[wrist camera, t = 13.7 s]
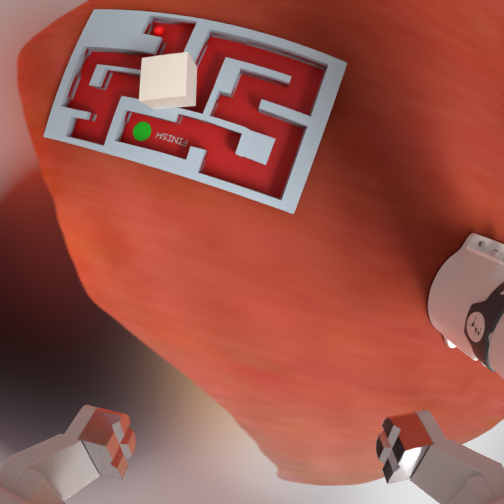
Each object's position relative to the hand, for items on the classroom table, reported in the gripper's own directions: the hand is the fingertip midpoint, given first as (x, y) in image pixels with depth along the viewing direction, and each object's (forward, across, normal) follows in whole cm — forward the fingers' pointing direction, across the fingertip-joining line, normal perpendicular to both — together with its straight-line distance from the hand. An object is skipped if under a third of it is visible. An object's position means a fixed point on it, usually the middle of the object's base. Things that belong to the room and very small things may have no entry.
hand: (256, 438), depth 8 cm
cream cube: (+28, +10, -18) cm, 35 cm away
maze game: (+32, +10, -18) cm, 38 cm away
